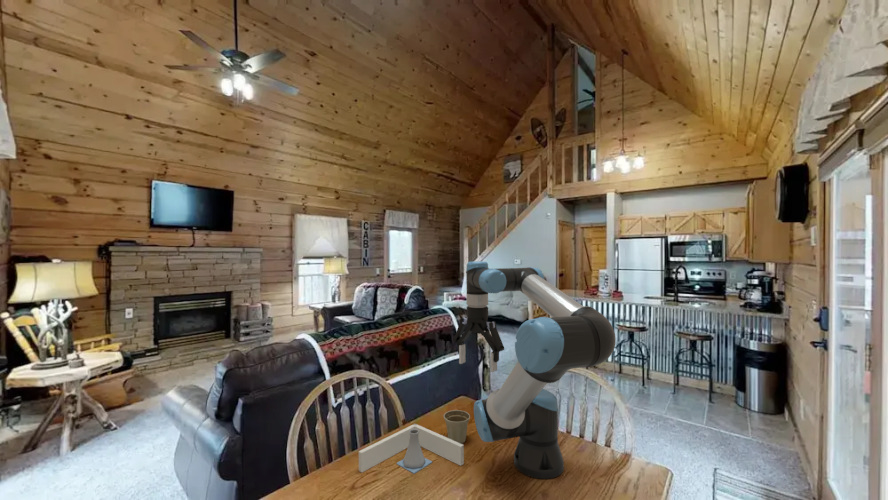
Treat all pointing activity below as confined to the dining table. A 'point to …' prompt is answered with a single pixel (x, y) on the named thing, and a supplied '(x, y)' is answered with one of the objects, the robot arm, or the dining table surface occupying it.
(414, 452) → the flask
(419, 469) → the pad
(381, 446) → the corner wall
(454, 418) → the flower pot
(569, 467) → the dining table surface
